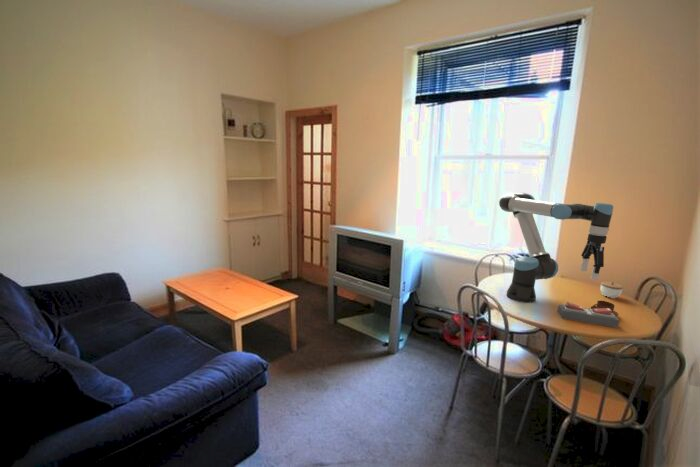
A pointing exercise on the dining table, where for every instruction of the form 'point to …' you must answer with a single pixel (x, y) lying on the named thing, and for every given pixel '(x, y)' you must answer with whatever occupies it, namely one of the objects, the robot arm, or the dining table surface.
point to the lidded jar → (611, 289)
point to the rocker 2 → (602, 310)
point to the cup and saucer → (605, 306)
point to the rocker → (574, 306)
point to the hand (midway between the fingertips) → (588, 274)
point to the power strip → (588, 316)
